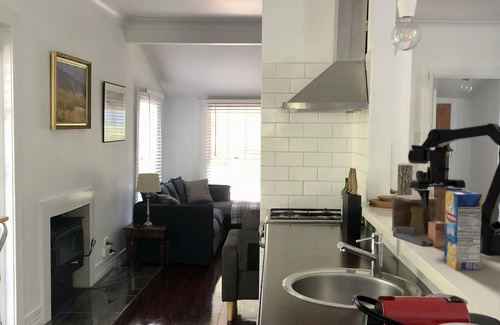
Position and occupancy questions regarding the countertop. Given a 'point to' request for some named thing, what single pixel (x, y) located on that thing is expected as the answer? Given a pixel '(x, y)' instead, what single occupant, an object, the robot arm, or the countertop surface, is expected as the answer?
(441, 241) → the grey brown long block
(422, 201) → the robot arm
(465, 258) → the beverage box
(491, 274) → the countertop surface
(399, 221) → the spice cubby
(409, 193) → the bark textured block
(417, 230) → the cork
